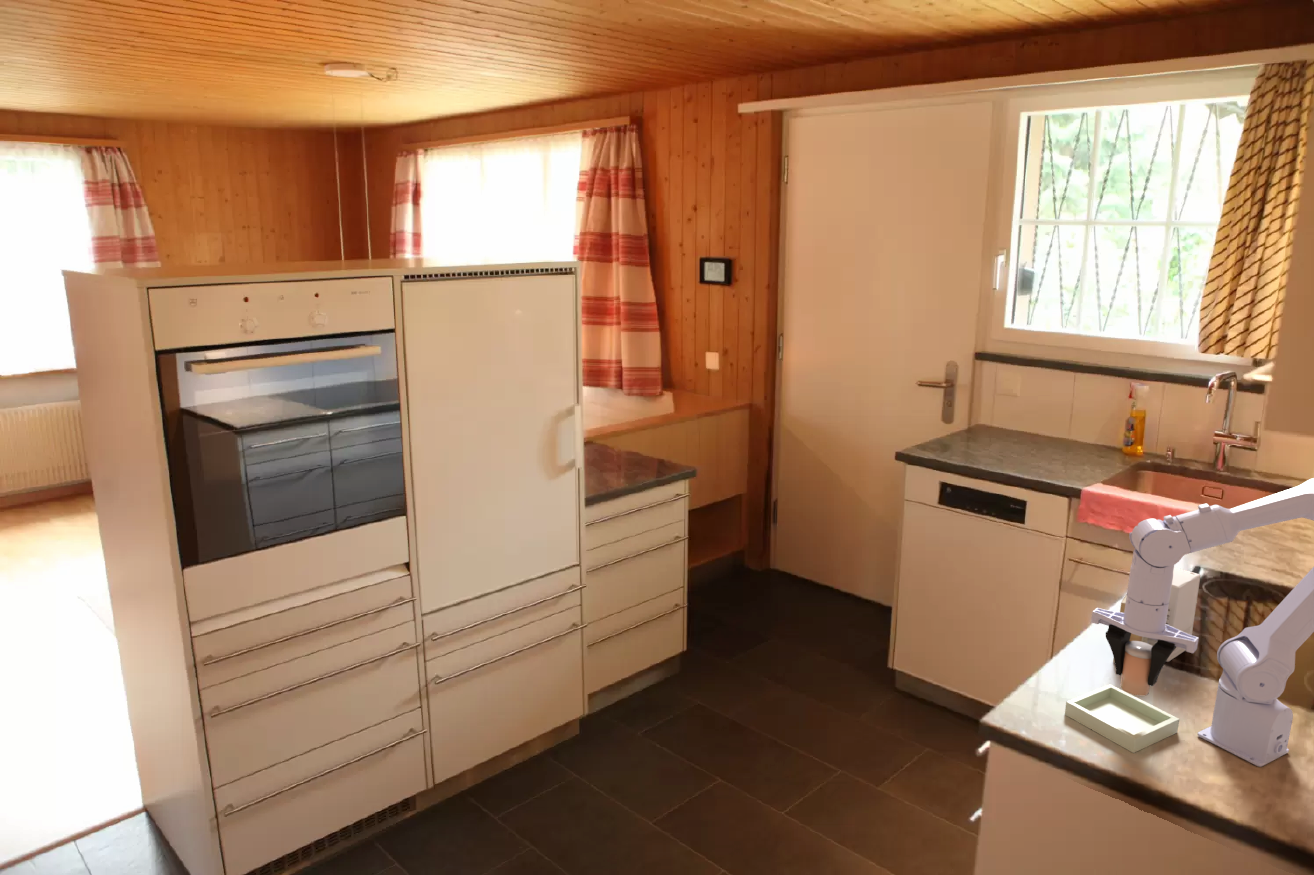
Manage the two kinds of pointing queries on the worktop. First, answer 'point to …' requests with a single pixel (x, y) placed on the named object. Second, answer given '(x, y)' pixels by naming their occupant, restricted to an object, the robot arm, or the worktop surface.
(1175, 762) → the worktop surface
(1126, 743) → the tray
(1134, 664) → the shaker
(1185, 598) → the supplement box
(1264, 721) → the robot arm
